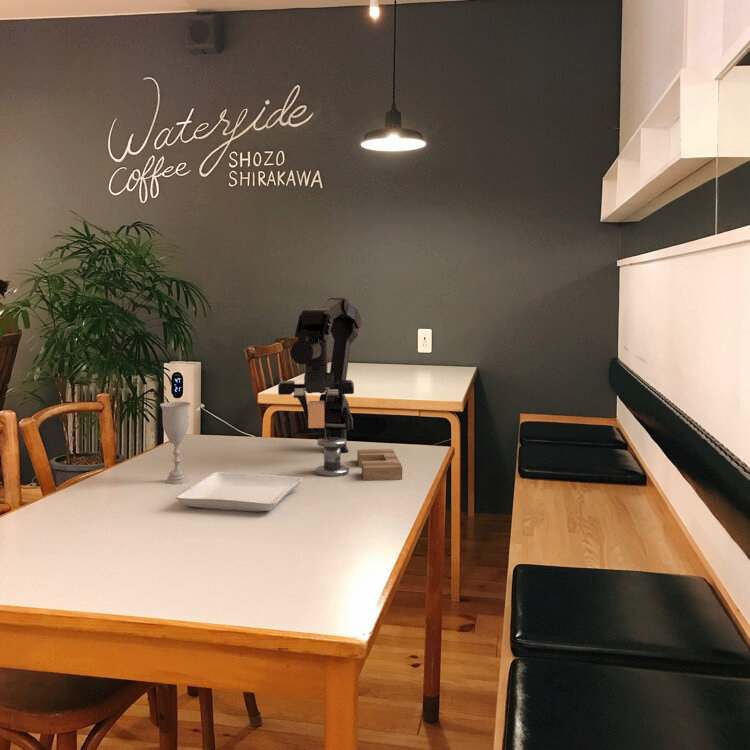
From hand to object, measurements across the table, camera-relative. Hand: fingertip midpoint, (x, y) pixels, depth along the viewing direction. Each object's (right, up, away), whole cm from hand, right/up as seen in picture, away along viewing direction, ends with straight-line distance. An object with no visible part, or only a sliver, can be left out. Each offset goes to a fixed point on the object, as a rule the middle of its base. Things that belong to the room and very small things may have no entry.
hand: (316, 421), depth 206 cm
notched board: (+16, -12, -6) cm, 20 cm away
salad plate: (-13, -15, -32) cm, 38 cm away
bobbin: (+4, -12, -9) cm, 15 cm away
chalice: (-31, -13, -17) cm, 38 cm away
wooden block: (0, -1, 0) cm, 1 cm away
